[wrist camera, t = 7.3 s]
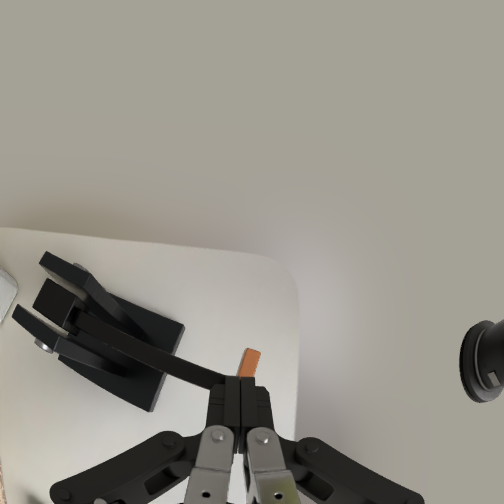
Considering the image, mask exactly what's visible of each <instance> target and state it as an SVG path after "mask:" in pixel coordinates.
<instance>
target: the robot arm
mask: <svg viewBox="0 0 504 504" xmlns="http://www.w3.org/2000/svg"><path fill="white" fill-rule="evenodd" d="M473 366H474V372H475V376H476V379H477V381H478V383H479V385H480V387H481V388H482V389H483V390H484V391H486V392H493V391H496V390H498V389H501V388H504V320H502V321H500V322H498V323H497V324H495V325H493V326H491V327H488V328H486V329H484V330H482V331H481V332H480V334H479V335H478V337H477V339H476V342H475V345H474V352H473ZM237 449H238V454H243V475H244V482H245V489H246V504H301V502H300V499H299V495H298V492H297V490H299V491H300V492H302V493H303V494H304V495H306V496H307V497H309V498H310V499H312V500H313V501H314V502H316V503H317V504H425V503H424V499H423V497H422V496H421V495H420V494H418V493H416V492H414V491H412V490H409V489H407V488H405V487H403V486H401V485H399V484H397V483H395V482H393V481H391V480H389V479H386V478H385V477H383V476H381V475H379V474H377V473H375V472H373V471H371V470H369V469H368V468H366V467H364V466H362V465H361V464H359V463H357V462H355V461H354V460H352V459H350V458H348V457H347V456H345V455H344V454H342V453H340V452H339V451H337V450H336V449H334V448H332V447H331V446H329V445H328V444H326V443H324V442H323V441H321V440H320V439H317V438H313V437H307V438H303V439H301V440H300V441H299V442H295V441H290V440H286V439H284V438H282V437H280V436H279V435H278V434H277V433H276V432H275V430H274V424H273V417H272V410H271V403H270V396H269V392H268V391H267V390H266V388H265V387H263V386H255V377H245V376H241V377H240V376H228V375H226V379H225V385H223V384H215V385H214V386H213V387H212V388H211V390H210V395H209V403H208V411H207V419H206V426H205V429H204V430H203V431H202V432H201V433H199V434H197V435H195V436H189V437H182V436H181V435H180V434H178V433H176V432H173V431H163V432H160V433H158V434H156V435H154V436H153V437H151V438H149V439H147V440H146V441H144V442H142V443H140V444H138V445H137V446H135V447H133V448H131V449H129V450H127V451H125V452H123V453H121V454H119V455H117V456H115V457H113V458H111V459H109V460H107V461H105V462H103V463H101V464H99V465H97V466H95V467H92V468H90V469H88V470H86V471H84V472H81V473H79V474H77V475H74V476H72V477H69V478H67V479H64V480H62V481H59V482H57V483H55V484H53V485H52V486H51V488H50V498H51V500H52V501H53V503H54V504H148V503H149V502H151V501H153V500H154V499H156V498H157V497H159V496H161V495H162V494H164V493H165V492H167V491H168V490H170V489H171V488H173V487H174V486H176V485H177V484H179V483H180V482H182V481H183V480H185V479H186V478H187V477H188V476H190V477H189V481H188V486H187V490H186V494H185V498H184V502H183V503H179V504H232V503H228V502H227V500H228V491H229V482H230V474H231V466H232V464H233V458H234V454H237Z"/></svg>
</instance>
